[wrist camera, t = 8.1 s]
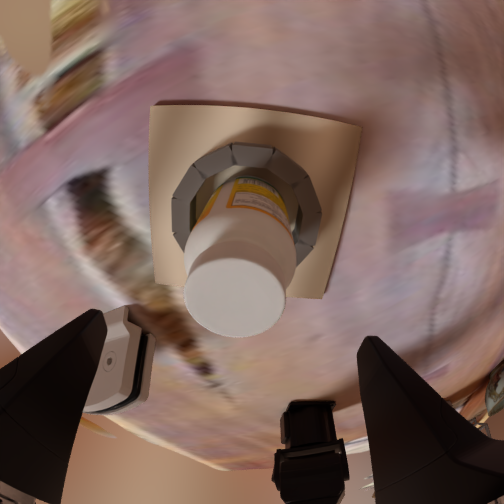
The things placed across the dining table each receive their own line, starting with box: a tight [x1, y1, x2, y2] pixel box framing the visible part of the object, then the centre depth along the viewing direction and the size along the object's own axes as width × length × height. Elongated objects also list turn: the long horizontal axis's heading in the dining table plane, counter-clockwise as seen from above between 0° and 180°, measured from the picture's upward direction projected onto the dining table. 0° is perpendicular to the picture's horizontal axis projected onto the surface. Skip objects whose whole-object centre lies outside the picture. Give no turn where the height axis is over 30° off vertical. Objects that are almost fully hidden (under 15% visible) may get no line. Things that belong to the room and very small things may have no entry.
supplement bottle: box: [184, 176, 296, 337], centre depth 14 cm, size 5×5×10 cm
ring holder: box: [149, 105, 362, 299], centre depth 18 cm, size 14×14×2 cm
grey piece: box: [83, 306, 156, 415], centre depth 24 cm, size 17×5×10 cm, turn 115°
